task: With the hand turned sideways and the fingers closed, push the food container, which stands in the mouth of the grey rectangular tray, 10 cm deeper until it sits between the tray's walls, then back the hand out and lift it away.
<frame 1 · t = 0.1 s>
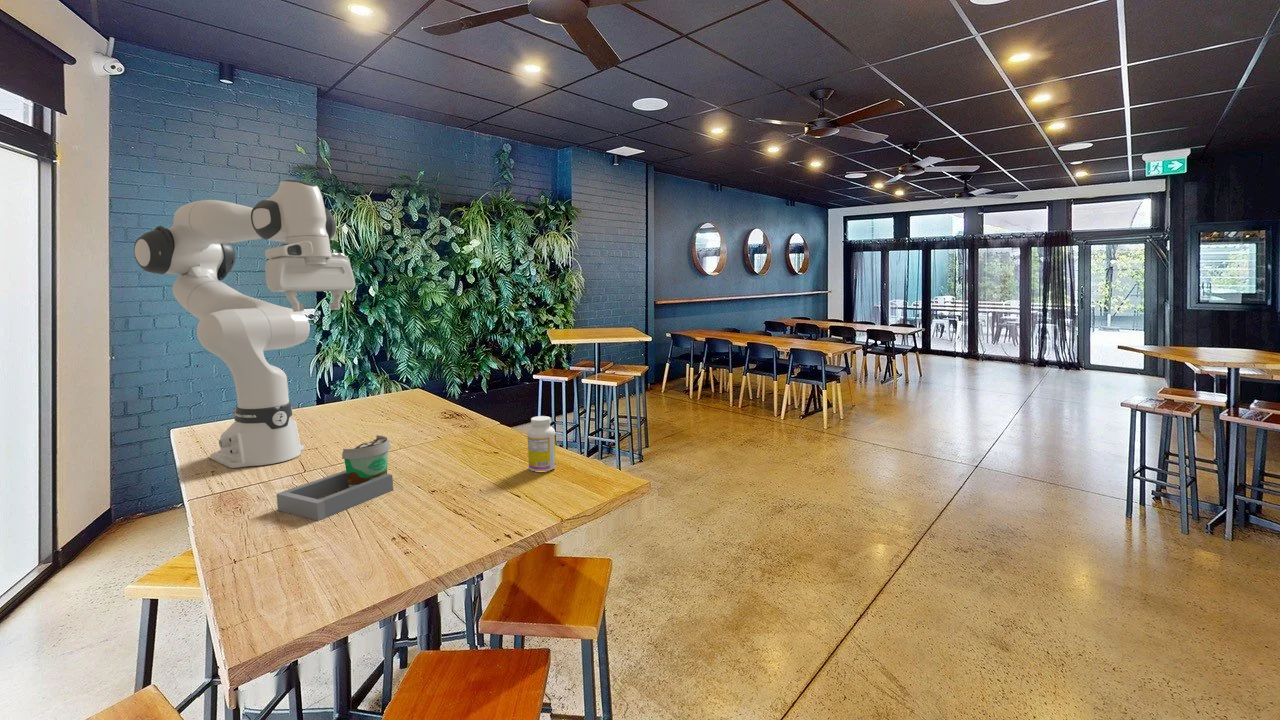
hand: (317, 310, 135), 39 cm above the table, tool pointing down, fingers open, 8 cm apart
grey rectangular tray: (340, 498, 122), on the table
food container: (375, 486, 130), on the table
supplement bottle: (542, 469, 141), on the table
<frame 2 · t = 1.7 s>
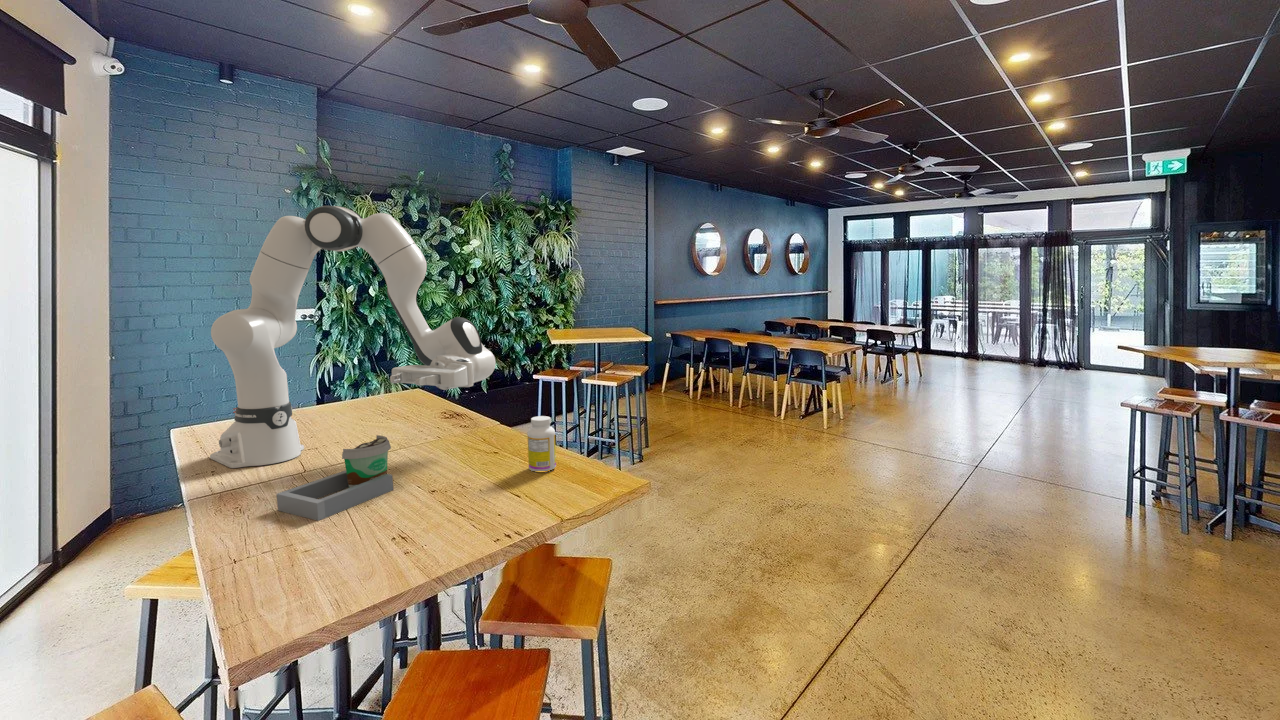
hand: (404, 380, 136), 22 cm above the table, tool horizontal, fingers open, 7 cm apart
nothing on the table moved.
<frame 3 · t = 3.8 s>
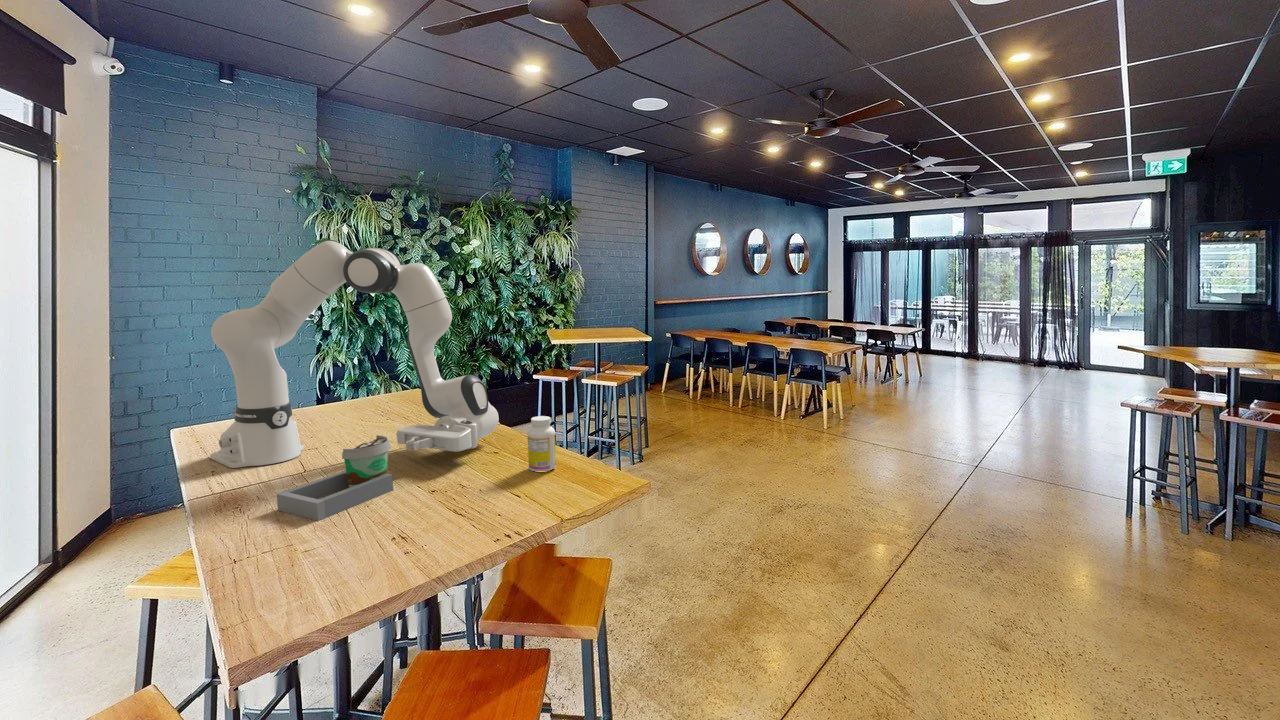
hand: (410, 446, 138), 6 cm above the table, tool horizontal, fingers closed
nothing on the table moved.
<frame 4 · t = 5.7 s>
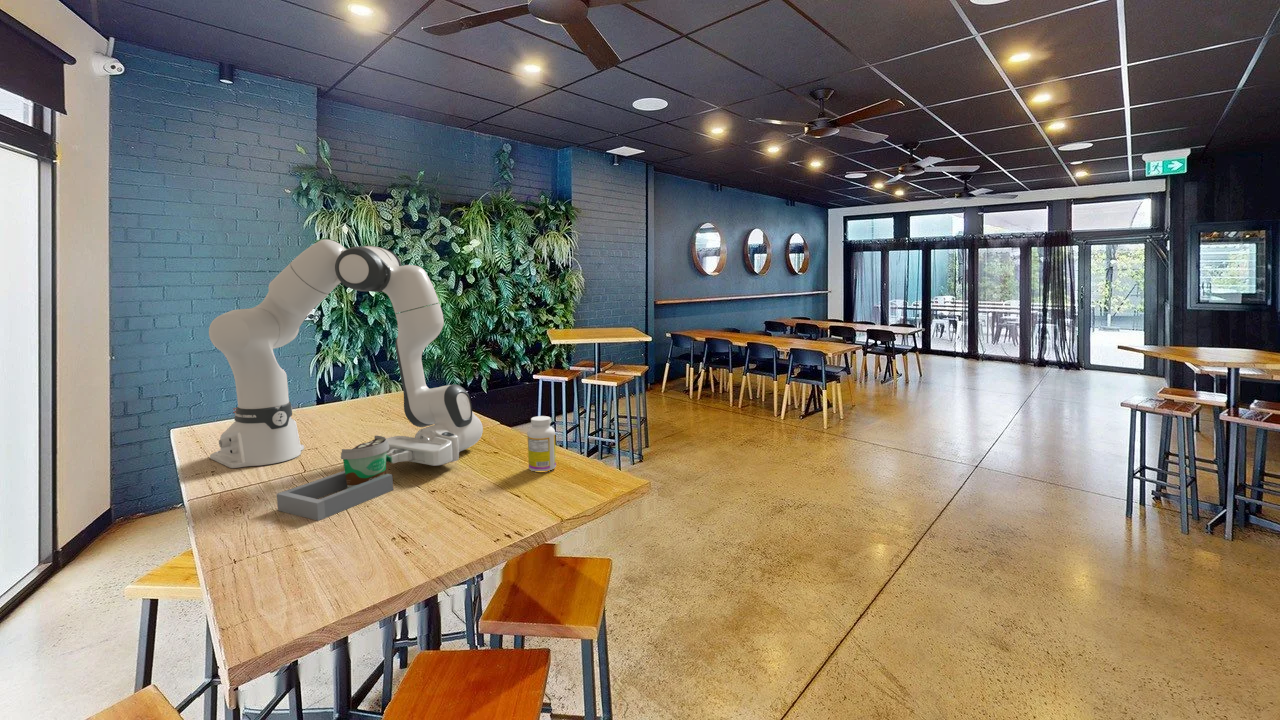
hand: (387, 459, 133), 5 cm above the table, tool horizontal, fingers closed
food container: (374, 486, 130), on the table, touching gripper
everything else where it was.
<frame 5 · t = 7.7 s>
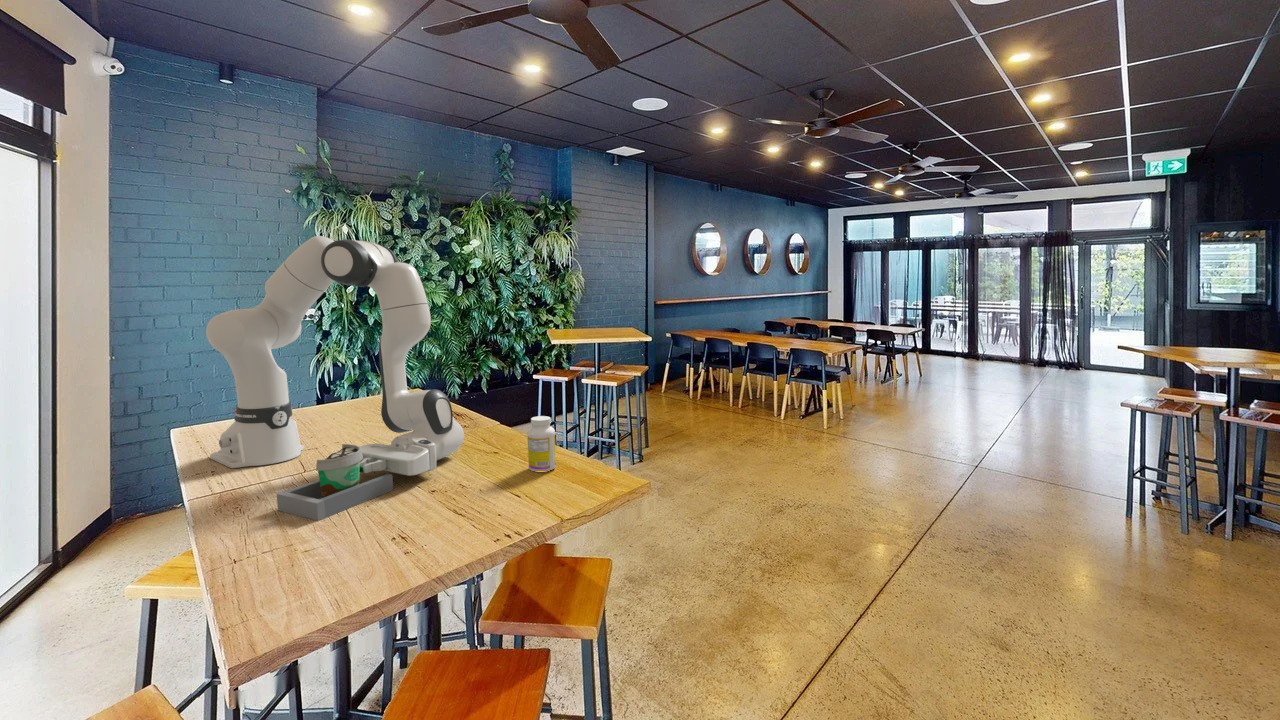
hand: (359, 469, 126), 5 cm above the table, tool horizontal, fingers closed
food container: (348, 497, 123), resting in grey rectangular tray, touching gripper
everything else where it was.
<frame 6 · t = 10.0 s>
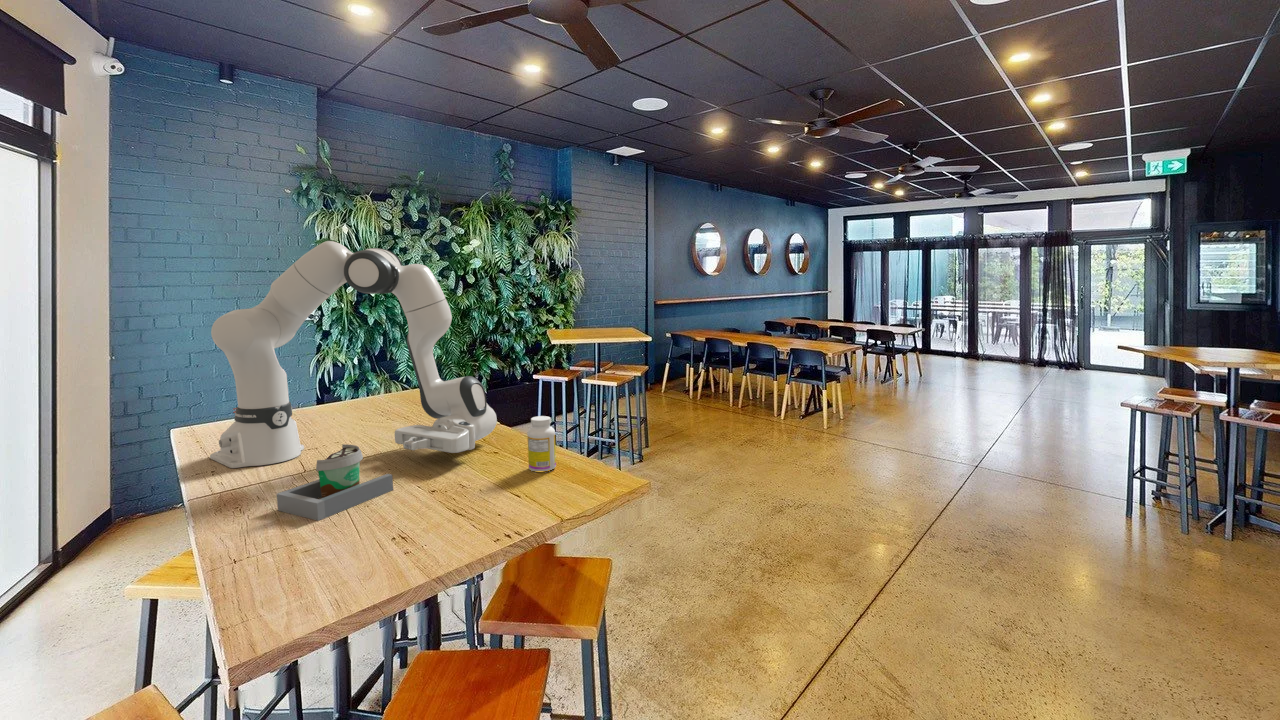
hand: (407, 446, 139), 6 cm above the table, tool horizontal, fingers closed
food container: (348, 497, 123), resting in grey rectangular tray
everything else where it was.
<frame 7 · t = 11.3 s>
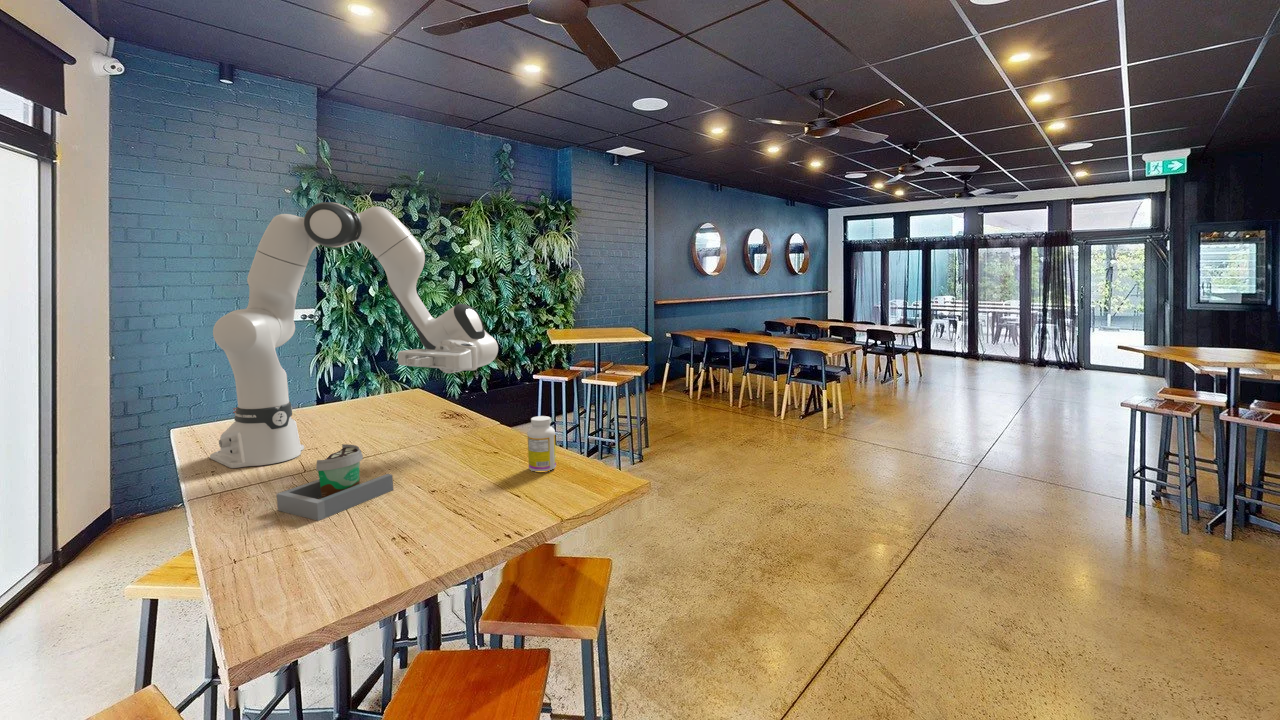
hand: (410, 362, 140), 26 cm above the table, tool horizontal, fingers closed
nothing on the table moved.
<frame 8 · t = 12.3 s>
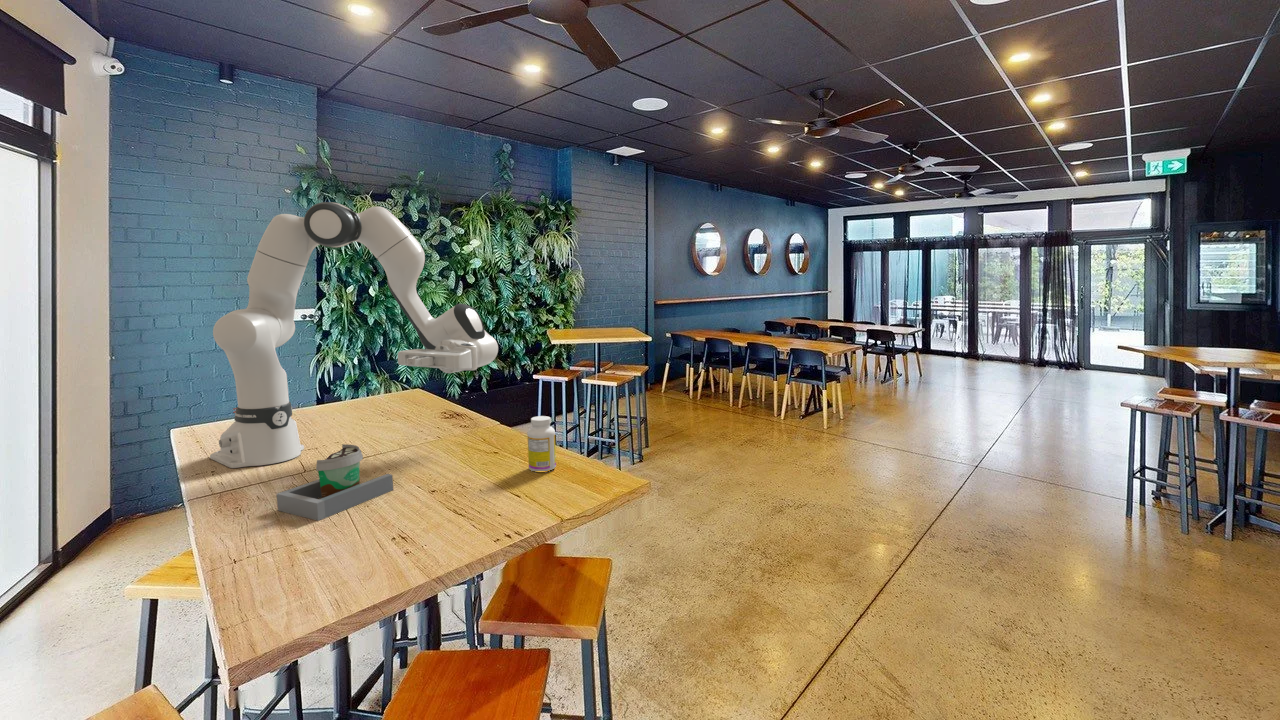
hand: (410, 362, 140), 26 cm above the table, tool horizontal, fingers closed
nothing on the table moved.
at the end: food container 2.9 cm from the target spot on the grey rectangular tray, point 0.0 cm above the grey rectangular tray's base; food container tilted 0°; the gripper is holding nothing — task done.
